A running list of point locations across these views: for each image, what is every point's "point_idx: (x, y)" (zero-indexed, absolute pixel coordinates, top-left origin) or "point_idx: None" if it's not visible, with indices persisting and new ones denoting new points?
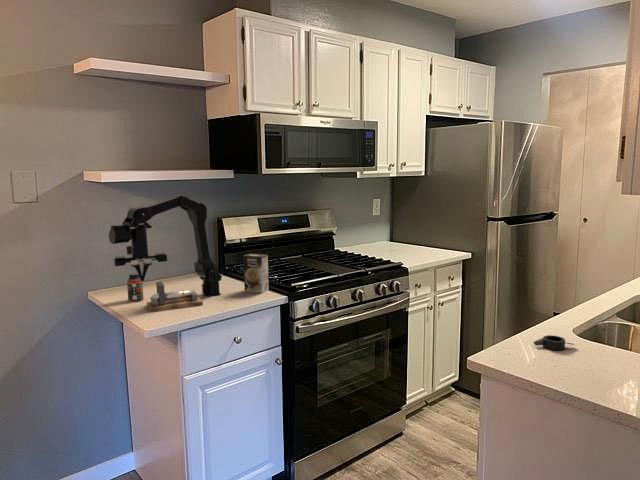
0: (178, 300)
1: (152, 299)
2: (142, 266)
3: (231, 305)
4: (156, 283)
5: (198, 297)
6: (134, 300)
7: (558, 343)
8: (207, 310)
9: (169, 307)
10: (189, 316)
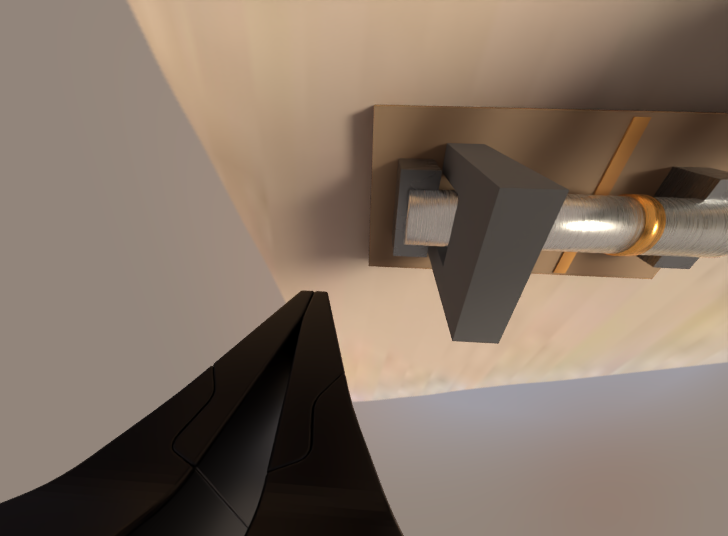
0: (571, 189)
1: (395, 248)
2: (262, 524)
3: (710, 330)
4: (489, 199)
5: None
6: None
7: None
8: (580, 340)
9: None
10: (484, 365)
